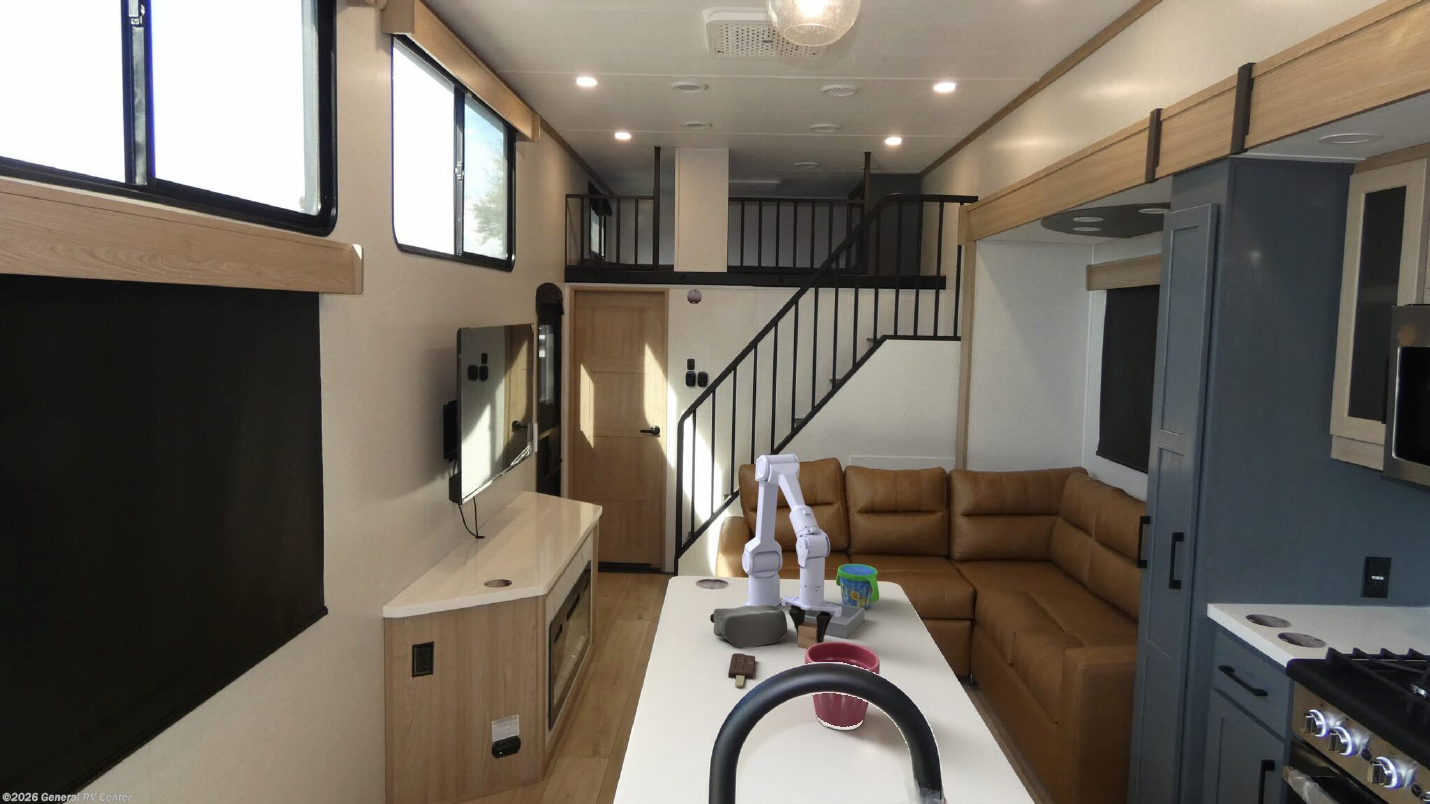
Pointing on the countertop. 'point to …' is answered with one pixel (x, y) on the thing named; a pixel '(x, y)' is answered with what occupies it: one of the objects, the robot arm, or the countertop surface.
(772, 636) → the grey rounded lump
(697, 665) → the countertop surface
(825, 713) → the plant pot
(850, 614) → the bin
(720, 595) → the countertop surface
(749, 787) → the countertop surface
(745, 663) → the ice cream bar
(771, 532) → the robot arm
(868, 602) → the snack cup
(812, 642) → the walnut block
